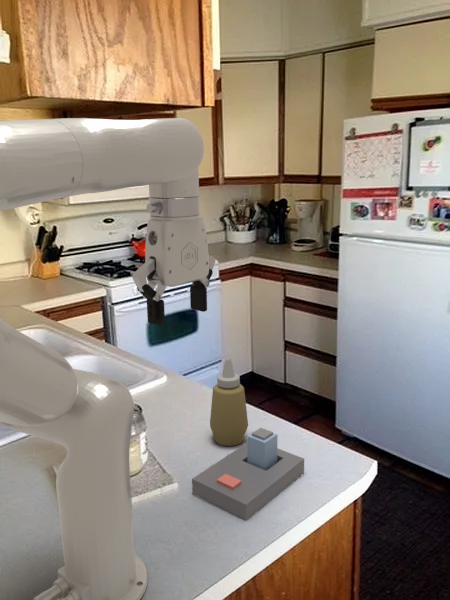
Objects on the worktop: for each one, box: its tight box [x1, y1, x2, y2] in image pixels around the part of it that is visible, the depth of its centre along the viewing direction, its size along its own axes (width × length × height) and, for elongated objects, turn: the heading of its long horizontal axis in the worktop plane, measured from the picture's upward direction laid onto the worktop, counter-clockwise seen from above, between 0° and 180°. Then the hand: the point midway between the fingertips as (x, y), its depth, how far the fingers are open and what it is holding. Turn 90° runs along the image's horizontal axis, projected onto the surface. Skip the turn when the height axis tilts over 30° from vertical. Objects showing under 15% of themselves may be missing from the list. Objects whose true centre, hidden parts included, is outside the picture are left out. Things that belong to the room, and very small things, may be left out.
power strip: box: [191, 442, 305, 521], centre depth 101 cm, size 18×12×4 cm, turn 141°
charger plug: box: [246, 427, 279, 471], centre depth 103 cm, size 4×4×8 cm
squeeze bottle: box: [209, 358, 249, 447], centre depth 115 cm, size 8×8×18 cm
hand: (178, 316), depth 88 cm, fingers open, 9 cm apart
